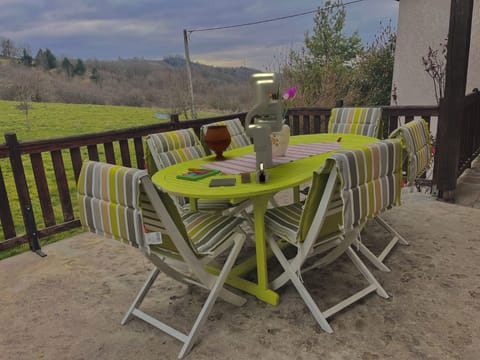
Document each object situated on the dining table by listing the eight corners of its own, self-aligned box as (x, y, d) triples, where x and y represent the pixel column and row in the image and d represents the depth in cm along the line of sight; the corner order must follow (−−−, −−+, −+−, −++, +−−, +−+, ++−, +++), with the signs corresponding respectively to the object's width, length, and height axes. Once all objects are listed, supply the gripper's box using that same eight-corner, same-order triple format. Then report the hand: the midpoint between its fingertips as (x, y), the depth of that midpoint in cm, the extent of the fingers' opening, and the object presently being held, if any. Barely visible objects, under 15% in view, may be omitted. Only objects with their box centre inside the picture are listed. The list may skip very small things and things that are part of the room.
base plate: (211, 180, 214) (211, 179, 213) (235, 179, 213) (235, 177, 213) (208, 187, 200) (208, 185, 200) (234, 185, 199) (234, 184, 199)
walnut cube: (241, 181, 209) (241, 172, 207) (250, 181, 208) (250, 172, 207) (241, 183, 204) (240, 174, 202) (250, 183, 203) (250, 174, 202)
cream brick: (255, 180, 208) (255, 172, 207) (268, 180, 208) (268, 171, 207) (256, 183, 203) (255, 174, 202) (268, 182, 203) (268, 173, 202)
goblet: (202, 160, 278) (199, 126, 272) (224, 156, 288) (221, 124, 282) (214, 163, 262) (211, 128, 256) (237, 159, 272) (235, 125, 266)
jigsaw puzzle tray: (221, 174, 232) (193, 170, 247) (220, 170, 231) (193, 167, 247) (194, 182, 215) (166, 178, 230) (194, 178, 214) (166, 174, 230)
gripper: (253, 146, 210) (255, 177, 214) (253, 151, 193) (255, 184, 197) (267, 145, 209) (268, 176, 214) (268, 150, 192) (269, 184, 197)
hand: (262, 180), depth 205 cm, fingers open, 6 cm apart
